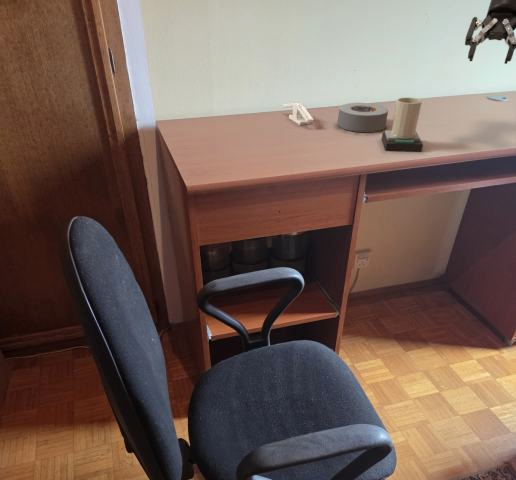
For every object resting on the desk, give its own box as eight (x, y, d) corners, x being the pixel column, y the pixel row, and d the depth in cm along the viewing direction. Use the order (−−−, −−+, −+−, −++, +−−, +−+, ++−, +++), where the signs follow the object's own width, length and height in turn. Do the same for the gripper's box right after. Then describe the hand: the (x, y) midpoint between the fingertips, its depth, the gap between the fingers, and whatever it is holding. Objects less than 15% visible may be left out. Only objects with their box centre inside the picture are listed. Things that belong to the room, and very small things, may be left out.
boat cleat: (293, 112, 157) (294, 95, 154) (318, 128, 143) (319, 109, 140) (282, 113, 156) (283, 96, 153) (306, 129, 142) (308, 110, 139)
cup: (412, 132, 131) (419, 97, 125) (416, 139, 126) (423, 103, 120) (389, 131, 131) (395, 97, 125) (392, 138, 126) (398, 103, 120)
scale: (415, 140, 134) (417, 130, 132) (421, 151, 126) (423, 141, 124) (381, 139, 134) (383, 129, 133) (385, 150, 127) (387, 140, 125)
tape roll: (381, 119, 151) (384, 102, 147) (389, 133, 139) (392, 115, 136) (335, 118, 151) (337, 102, 148) (339, 132, 140) (341, 114, 137)
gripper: (479, -14, 115) (461, 49, 115) (541, -13, 110) (521, 52, 111) (476, 9, 122) (458, 68, 122) (533, 10, 117) (515, 71, 118)
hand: (488, 60), depth 116 cm, fingers open, 8 cm apart
